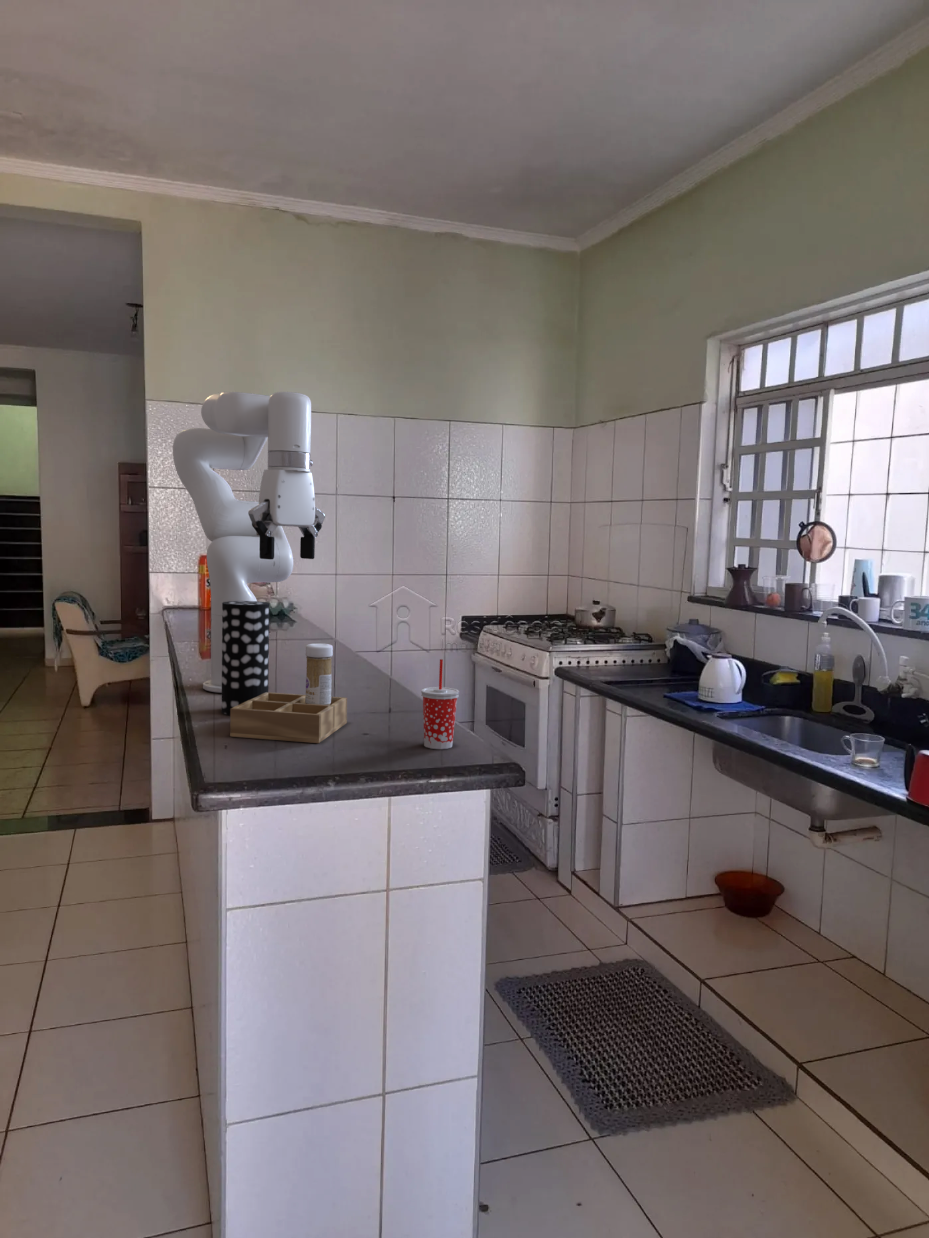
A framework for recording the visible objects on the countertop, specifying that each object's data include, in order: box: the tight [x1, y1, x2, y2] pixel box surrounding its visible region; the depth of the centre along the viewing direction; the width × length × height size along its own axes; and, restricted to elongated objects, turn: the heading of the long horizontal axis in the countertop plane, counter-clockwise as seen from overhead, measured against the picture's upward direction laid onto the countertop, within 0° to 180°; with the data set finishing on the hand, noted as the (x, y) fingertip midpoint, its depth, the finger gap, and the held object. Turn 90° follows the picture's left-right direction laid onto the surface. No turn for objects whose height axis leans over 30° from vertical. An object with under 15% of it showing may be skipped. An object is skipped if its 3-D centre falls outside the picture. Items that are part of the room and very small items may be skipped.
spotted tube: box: [221, 600, 270, 716], centre depth 158 cm, size 8×8×20 cm
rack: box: [229, 691, 348, 744], centre depth 146 cm, size 15×15×5 cm
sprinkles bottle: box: [305, 643, 334, 705], centre depth 148 cm, size 5×5×14 cm
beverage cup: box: [420, 658, 460, 750], centre depth 138 cm, size 6×6×14 cm
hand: (287, 558), depth 157 cm, fingers open, 9 cm apart
